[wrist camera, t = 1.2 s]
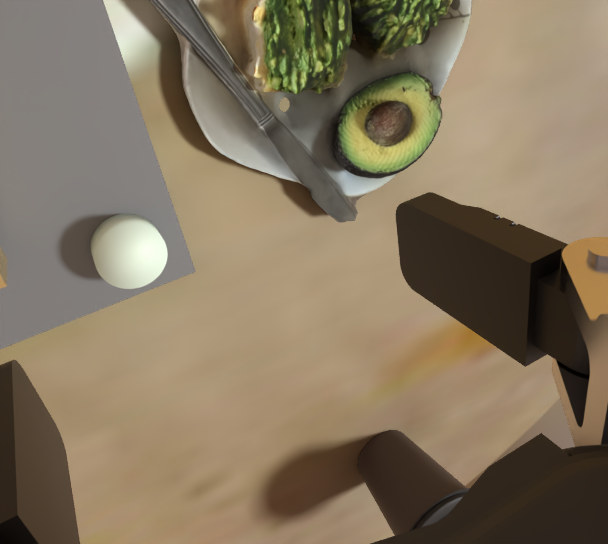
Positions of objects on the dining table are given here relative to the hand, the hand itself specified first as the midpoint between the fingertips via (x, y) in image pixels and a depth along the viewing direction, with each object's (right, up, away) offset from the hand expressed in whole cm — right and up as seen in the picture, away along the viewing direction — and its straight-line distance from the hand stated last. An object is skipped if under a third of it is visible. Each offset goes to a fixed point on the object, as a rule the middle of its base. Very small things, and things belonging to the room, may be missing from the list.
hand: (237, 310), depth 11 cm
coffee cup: (+8, -16, +39) cm, 43 cm away
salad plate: (+3, +14, +21) cm, 25 cm away
